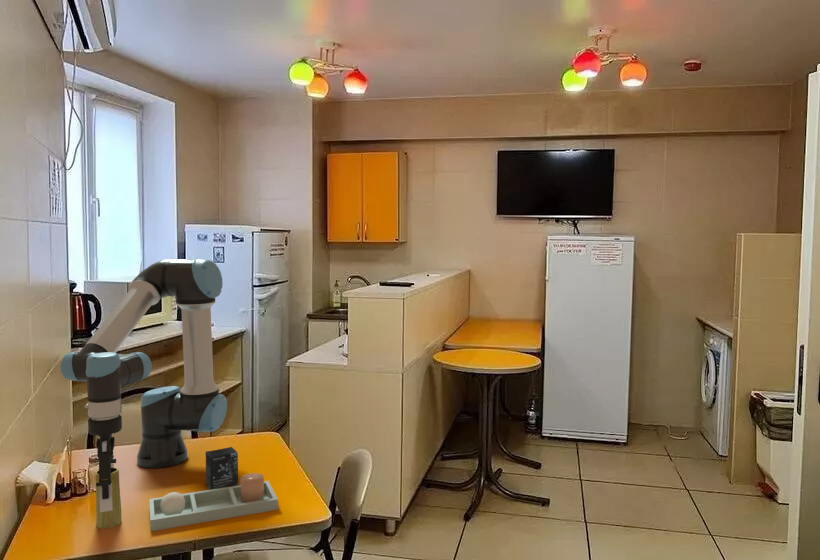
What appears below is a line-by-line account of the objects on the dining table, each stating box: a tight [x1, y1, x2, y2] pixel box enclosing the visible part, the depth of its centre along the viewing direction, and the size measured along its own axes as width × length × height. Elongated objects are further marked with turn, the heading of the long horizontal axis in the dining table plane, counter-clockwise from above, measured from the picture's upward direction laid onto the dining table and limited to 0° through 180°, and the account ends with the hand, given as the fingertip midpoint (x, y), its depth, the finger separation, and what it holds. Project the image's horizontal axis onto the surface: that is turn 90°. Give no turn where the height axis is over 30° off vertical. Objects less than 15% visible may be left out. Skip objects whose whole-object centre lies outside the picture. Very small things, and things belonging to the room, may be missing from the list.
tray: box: [149, 480, 279, 532], centre depth 169 cm, size 13×31×4 cm, turn 113°
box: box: [205, 446, 239, 490], centre depth 185 cm, size 8×6×11 cm
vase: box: [94, 466, 123, 530], centre depth 160 cm, size 6×6×14 cm
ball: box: [160, 491, 185, 516], centre depth 164 cm, size 6×6×6 cm
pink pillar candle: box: [240, 472, 265, 503], centre depth 172 cm, size 6×6×7 cm
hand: (107, 500), depth 160 cm, fingers open, 13 cm apart
